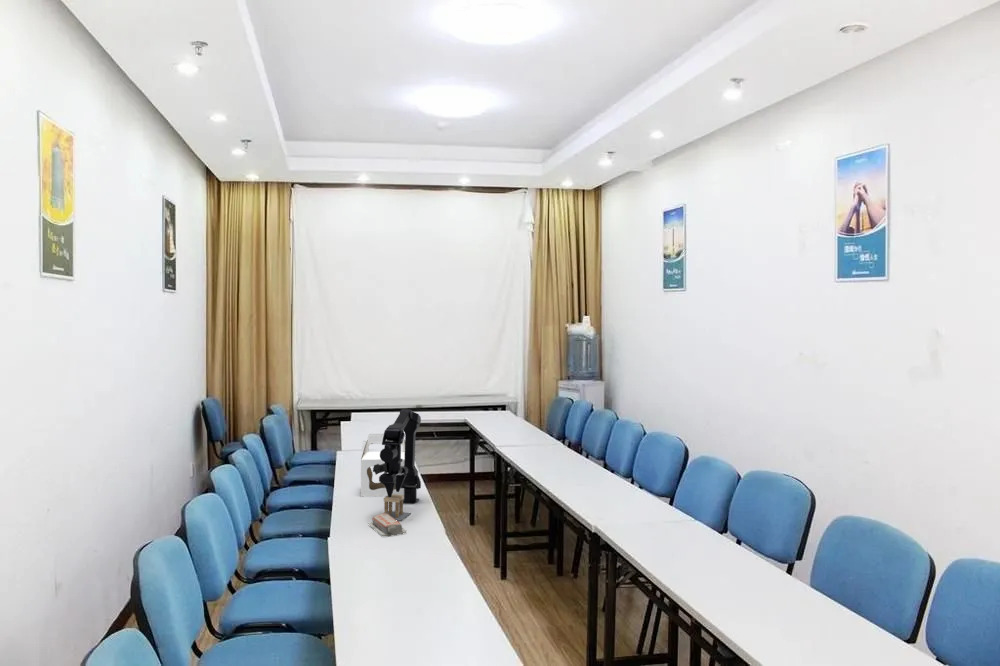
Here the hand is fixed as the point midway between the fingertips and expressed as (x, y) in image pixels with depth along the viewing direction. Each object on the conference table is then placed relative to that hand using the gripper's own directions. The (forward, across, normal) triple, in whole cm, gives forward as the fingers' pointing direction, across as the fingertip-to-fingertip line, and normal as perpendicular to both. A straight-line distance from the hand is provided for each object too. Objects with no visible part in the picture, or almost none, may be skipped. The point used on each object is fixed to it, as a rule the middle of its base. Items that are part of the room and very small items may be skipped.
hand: (393, 494), depth 307 cm
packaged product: (+10, +17, +4) cm, 20 cm away
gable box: (+10, -36, -18) cm, 41 cm away
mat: (+9, 0, 0) cm, 9 cm away
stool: (+9, 0, 0) cm, 9 cm away
